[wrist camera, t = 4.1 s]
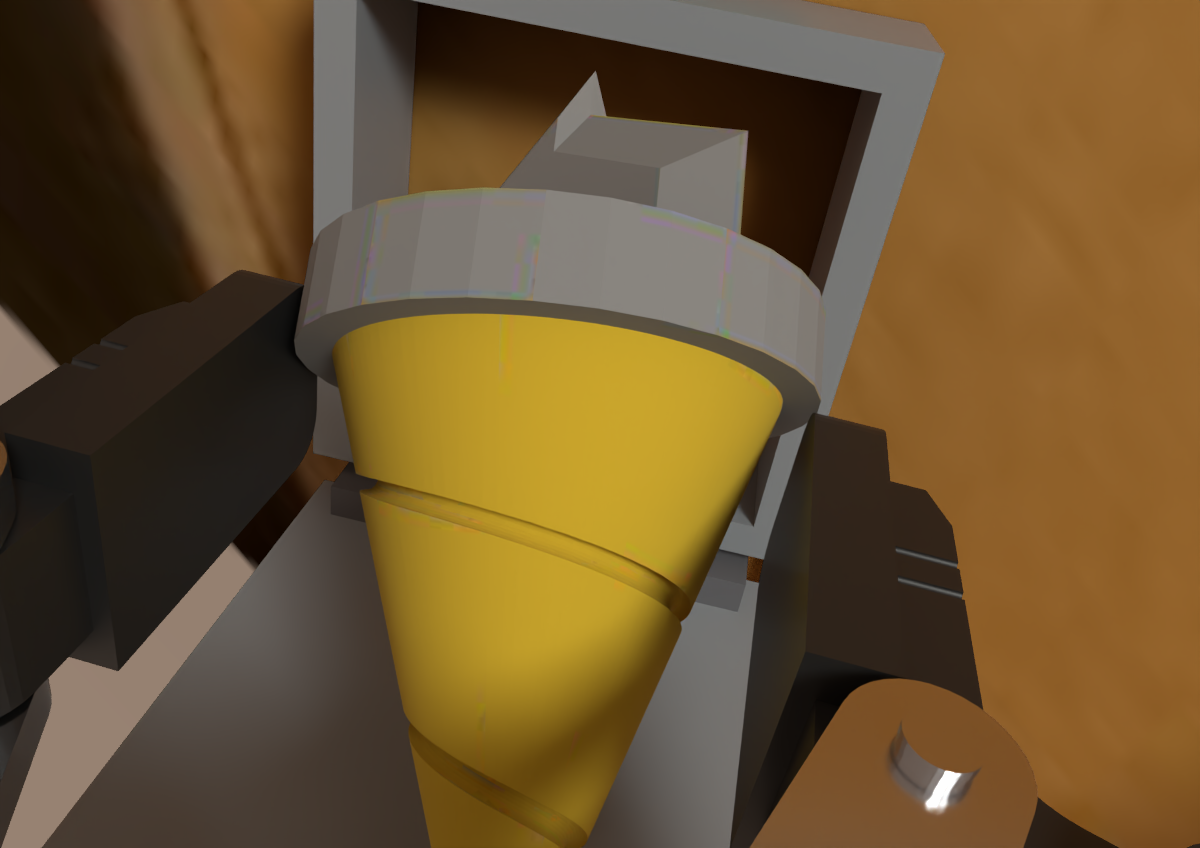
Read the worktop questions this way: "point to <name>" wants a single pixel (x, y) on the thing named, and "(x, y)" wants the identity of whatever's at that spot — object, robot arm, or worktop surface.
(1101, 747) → the worktop surface
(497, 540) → the drill bit
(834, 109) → the worktop surface
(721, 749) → the case
